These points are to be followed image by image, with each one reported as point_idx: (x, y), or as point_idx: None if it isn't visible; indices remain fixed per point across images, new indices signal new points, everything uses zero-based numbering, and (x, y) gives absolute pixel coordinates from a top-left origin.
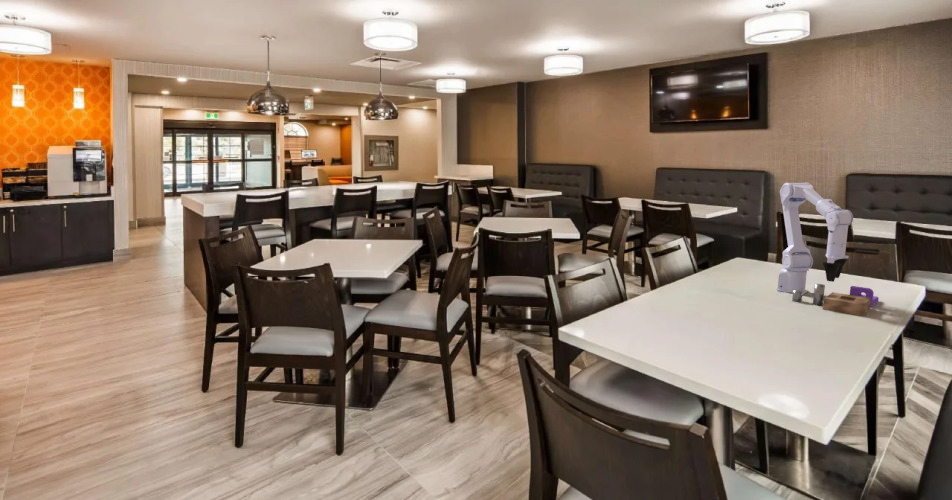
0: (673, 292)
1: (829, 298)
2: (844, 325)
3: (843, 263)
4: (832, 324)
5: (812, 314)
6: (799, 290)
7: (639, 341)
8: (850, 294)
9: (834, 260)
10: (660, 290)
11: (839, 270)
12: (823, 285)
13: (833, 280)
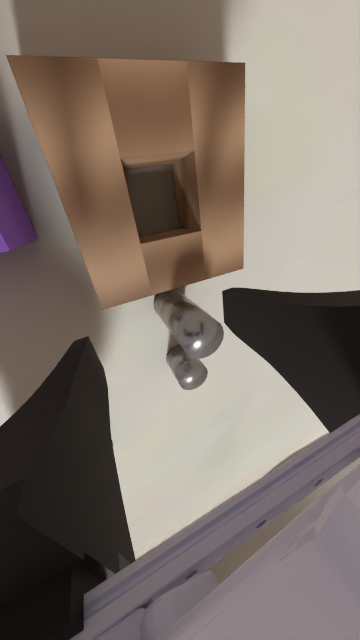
0: (277, 453)
1: (230, 254)
2: (354, 120)
3: (58, 438)
4: (356, 157)
5: (289, 248)
6: (185, 379)
7: None
8: (22, 239)
9: (352, 430)
10: (277, 463)
11: (81, 379)
12: (207, 323)
13: (238, 289)
